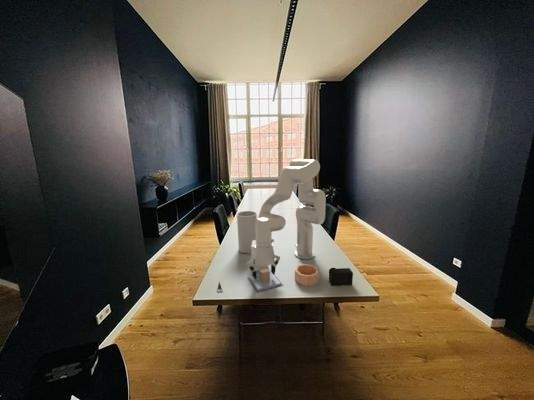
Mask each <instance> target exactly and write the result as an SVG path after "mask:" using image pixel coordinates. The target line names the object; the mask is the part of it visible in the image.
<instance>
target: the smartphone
mask: <svg viewBox="0 0 534 400" xmlns="http://www.w3.org/2000/svg"><path fill="white" fill-rule="evenodd" d="M223 292H224V290H223V288H222V285H221V283H220V281H218V286H217V290H216V293H223Z"/></svg>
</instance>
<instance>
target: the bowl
mask: <svg viewBox="0 0 534 400" xmlns="http://www.w3.org/2000/svg"><path fill="white" fill-rule="evenodd" d="M294 280H295V281H296V283H297V284H299V285H302V286H306V287H308V286H311V287H312V286H316V285H317V284H318V282H319V281H318V280H319V269H318V268H317V267H316V266H315V265H313V264H307V263H303V264H298V265H297V266H296V267H295V269H294Z"/></svg>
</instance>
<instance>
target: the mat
mask: <svg viewBox="0 0 534 400" xmlns="http://www.w3.org/2000/svg"><path fill="white" fill-rule="evenodd" d="M275 277H276V278H277V279H278V280H279V281H280V279H279V278H278V277H277V276H276V275H275ZM246 279H247V280H248V281H249V283H250V285H251V286H252V288H253V290H254V291H255V293H256V294H259V293H262V292H265V291H269V290H272V289H277V288H279V287H280V288H281V287H283V286H285V285H284V284H283V283H282V282H281V281H280V283H281V285H279V286H275V287H272V288H268V289H264V290H261V291H257V289H256V288H255V286H254V284H253V283H252V281H251V279H250V276H248V277H246Z"/></svg>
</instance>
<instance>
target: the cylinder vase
mask: <svg viewBox="0 0 534 400" xmlns="http://www.w3.org/2000/svg"><path fill="white" fill-rule="evenodd" d="M236 219H237V221H236V222H237V239H238V240H237V241H238V251H239V252H240V253H242V254H251V245H252V241H253V240H256V224H255V223H256V219H258V217H257V212H256V211H252V210H243V211H240V212H238V213H237V214H236Z"/></svg>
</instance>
